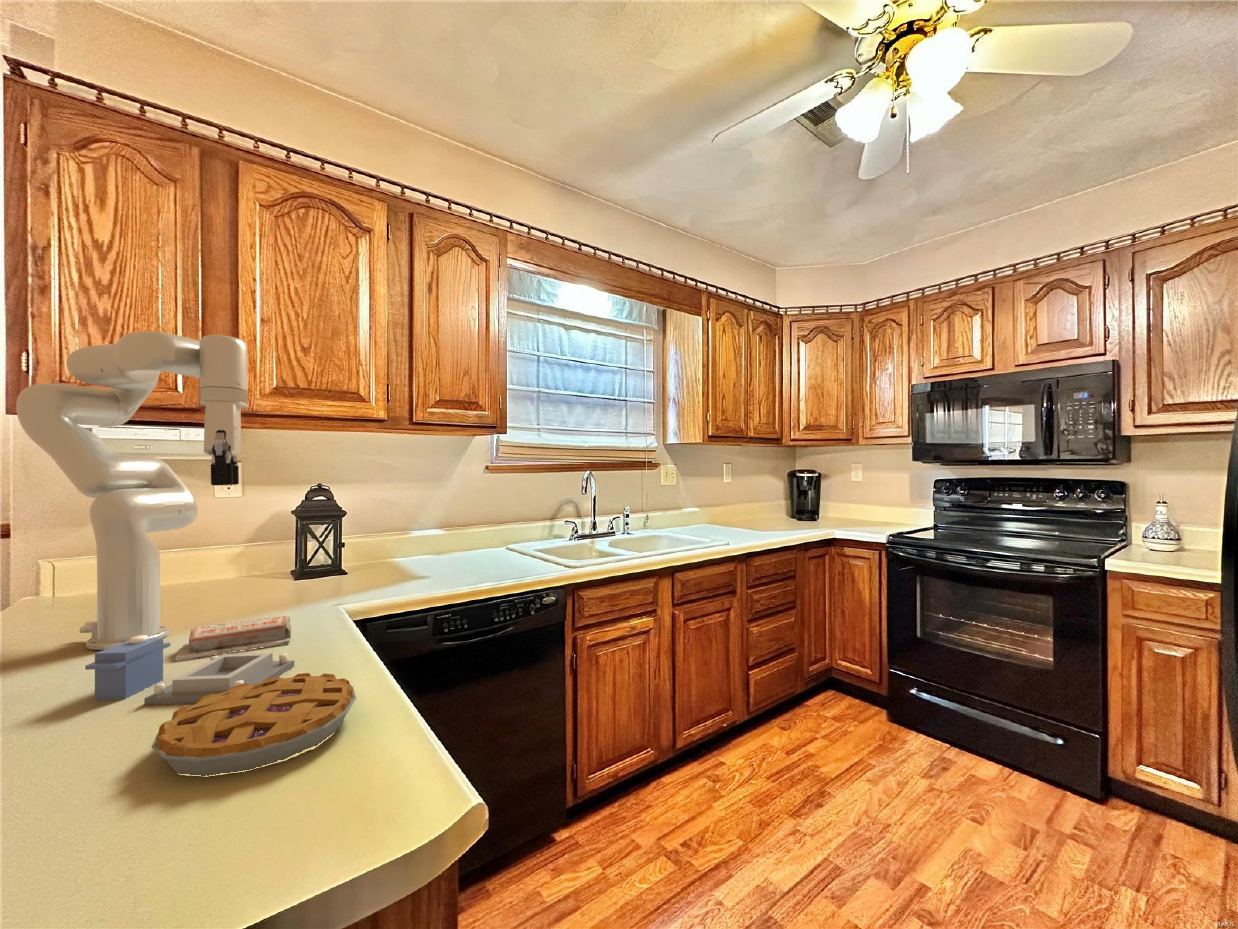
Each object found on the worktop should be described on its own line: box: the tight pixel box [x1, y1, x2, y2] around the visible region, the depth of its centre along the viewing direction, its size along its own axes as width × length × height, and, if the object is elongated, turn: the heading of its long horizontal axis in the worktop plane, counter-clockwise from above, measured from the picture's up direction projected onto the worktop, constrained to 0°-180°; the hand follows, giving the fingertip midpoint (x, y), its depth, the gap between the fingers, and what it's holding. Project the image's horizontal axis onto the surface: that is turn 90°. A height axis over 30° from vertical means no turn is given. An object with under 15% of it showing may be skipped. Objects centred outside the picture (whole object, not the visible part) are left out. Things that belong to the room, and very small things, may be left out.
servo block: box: [84, 635, 171, 701], centre depth 82 cm, size 4×10×8 cm, turn 4°
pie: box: [150, 672, 357, 776], centre depth 68 cm, size 22×22×5 cm
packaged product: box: [174, 615, 293, 662], centre depth 103 cm, size 18×5×10 cm
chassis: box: [143, 652, 295, 706], centre depth 84 cm, size 14×14×3 cm
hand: (225, 484), depth 102 cm, fingers open, 9 cm apart
